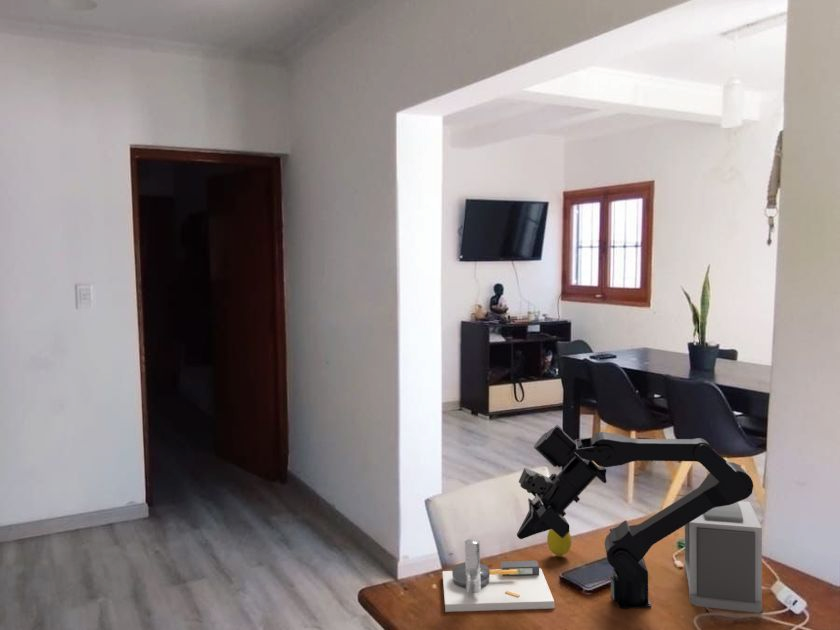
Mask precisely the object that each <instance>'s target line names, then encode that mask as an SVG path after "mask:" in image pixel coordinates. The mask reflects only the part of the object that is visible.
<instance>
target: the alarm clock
mask: <svg viewBox="0 0 840 630" xmlns="http://www.w3.org/2000/svg"><path fill="white" fill-rule="evenodd" d="M762 567H763V528H762V525H761V523H760V521H759V519H758V517H757V514H756V512H755V510H754V509H753V506H752V504H751V502H750V501H744V500H742V501H739V502H737V503H734V504H731V505H727V506H721V507H715V508H712V509H711V510H709V511H707V512H706V513H704V514H703V515H701V516H699V517H698V518H696V519H694V520H693V521H691V522H689V523H688V524H686V525H685V526H684V572H685V576H686V578H687V584H688V595H689V596H688V598H689V603H690V604H691V605H693V606H694V607H700V608H709V609H711V608H712V609H721V610H728V611H729V610H730V611H738V612H739V611H740V612H748V613H755V614H757V613H761V612H763V601H762V599H763V597H762V595H763V593H762V592H763V589H762V587H763V586H762V584H763V583H762V581H763V578H762V577H763V572H762V571H763V569H762Z"/></svg>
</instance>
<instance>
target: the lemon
mask: <svg viewBox="0 0 840 630" xmlns="http://www.w3.org/2000/svg"><path fill="white" fill-rule="evenodd" d="M571 536H572V535H571V532H570V531H569V533H568V534H567V535H566V536H565V537H564V538H561V537H560V536H559V535H558V534H557V533H556V532H555V531H553V530H552V529H550V530H548V533H547V538H546V540H547V541H546V542H547V547H548V549H549V550H550V551H551V553H553V554H555V555H556V556H557V557H558V558H561V557H562V556H563V555H566V554H567V553H568V552H569V551H570V549H571V546H572V537H571Z"/></svg>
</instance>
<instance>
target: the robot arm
mask: <svg viewBox="0 0 840 630" xmlns="http://www.w3.org/2000/svg"><path fill="white" fill-rule="evenodd" d="M533 449H535V451H537V452H538V454H540V455H541V457H543V458H544V459H545V460H546V461H548V462H549V464H550V465H551V466H553V467H554V468H555V467H558V468H562V470H561V471H560V472H559V473H558V474H556V473H552V474H550V475H549V477H548V476H547V475H546V476H545V475H544V474H542V473H539V472H536V471H535V470H532V469H529V468H527V467H524V468H523V470H522V473H521V476H520V477H519V479H518V483H519V485H520V488H522V489H523V490H525V491H526V492H527V493H528V494H531V495H532V496H533V498H532V499H530V498H528V500H527V502H528V512H527V514H526V515H525V518H524V519H523V521H522V524H521V525H520V527H519V528H518V529H519V530H518V531H517V532H516V537H517V538H518V539H520V540H524V539H526V538H528V537H531V536H533V535H537V534H540V533H544V532H547V531H549V530H550V529H552V530H553V531H555V532H556V533H557V534H558V535H559V536H560V537H561V538H564V537H565V536H566V535H567V534H568V533H569V532H570V523H569V522H568V521H567V519H566V518H565V516H566V514H567V513H566V511H565V510H566V509H567V508H568V507H570V505H571V504H572V503H573V502H574V503H576V504H577V503H578V502H579V501H580V500H581V498H580V497H579V496H580V495H581V494H582V493H583V492H584V490H586V489H587V488H588V487H589V485H591V483H592V482H593V481H594V480H596V478H597V479H599V480H600V482H602V483H603V484H606V483H607V469H606V468H611V467H618V466H623V465H626V464H629V463H632V462H639V461H640V462H642V461H643V462H649V461H650V462H651V461H652V462H654V461H655V462H697V463H700V464H701V465H702V467H703V468H705V470H707V471H708V472H709V473H708V474H707V475H706V477H705V478H704V480H703V481H702V482H701V484H700V485H699V486H698V487H696V488H695V489H693V490H692V491H691V492H689V493H687V494H685V495H684V496H683V497H681V498H680V499H678V500H676V501H675V502H672V503H671V504H670V505H668V506H666V507H665V508H662V509H661V510H660V511H659V512H657V513H655V514H654V515H652V516H650V517H649V518H647V519H645V520H644V521H642V522H640V523H638V524H634V525H630V524H629V523H628V521H627V520H626V519H625V520H624V521H622V522H620V524H618V526H616V527H614V528H609V533H608V534H607V535H606V537H605V539H604V543H603V544H604V549H605V555H606V560H607V562H608V564H609V565H610V566H611V567H612V576H610V596H611V598H612V599H613V601H614V602H615V604H616V606H617V607H618V608H620V609H647V608H652V604H651V602H650V601H649V570H648V567H647V564H646V561H645V556H646V554H647V553H648V552H649V550H650V549H651V548H652V547H653V545H655V544H657V543H658V542H660V541H662V540H663V539H664V538H666V537H668V536H670V535H671V534H673V533H675V532H676V531H678V530H680V529H681V528H683V527H685V525H686V524H688V523H689V522H691V521H693V520H694V519H696V518H698V517H699V516H701V515H703V514H704V513H706V512H707V511H709V510H711V509H712V508H715V507H721V506H727V505H731V504H734V503H737V502H739V501H744V500H747V499H748V498H749V497H751V495H752V493H753V491H754V490H753V489H754V482H753V480H752V477H751V476H750V474H748V473H747V472H746V471H745V469H743V468H742V466H740V465H739V464H737V463H735V462H730V461H728V460H726V459H725V458H724V457H723V456H722V455H721V454H719V453H718V452H717V451H716V450H715V449H714V448H713V447H712V446H711V445H710V444H709V443H708V442H707V440H706V439H704V438H701V437H698V438H697V437H696V438H681V439H680V438H678V439H677V438H633V437H629V436H624V435H622V434H617V433H611V432H607V431H600V432H596V433H594V434H593V435H592V436H591V437H585V438H579V439H578V438H577V439H572V438H571V437H570V436H569V435H568V434H567V433H566V432H565V431H564V430H563V428H562V427H561V426H560V425H559V424H555V425H554V427H552V428H551V429H549V430H548V431H547V432H544V433H543V434H542V436H540V438H538V440H537V441H536V442H535V444H534V446H533ZM564 466H565V467H564Z"/></svg>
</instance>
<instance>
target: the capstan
mask: <svg viewBox="0 0 840 630" xmlns="http://www.w3.org/2000/svg"><path fill="white" fill-rule="evenodd" d="M480 545H481V543H480V540H478V539H475V538H471V539H467V540H465V541H464V552H465V557H464V559H465V562H461V563H459V564H456V565H455V566H453V568H452V570H451V571H452V576H453V582H454V583H455V584H456V585H458V586H460V587H465V588H466V590H467V591H468V592H470V593H477V592H479V591H481V587H482V586H485V585H486V584H488V583H489V581H490V575H495V574H517V569H515V570H496V569H490V568H489V567H488V566H487V565H485V564H484V563H481V546H480Z"/></svg>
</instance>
